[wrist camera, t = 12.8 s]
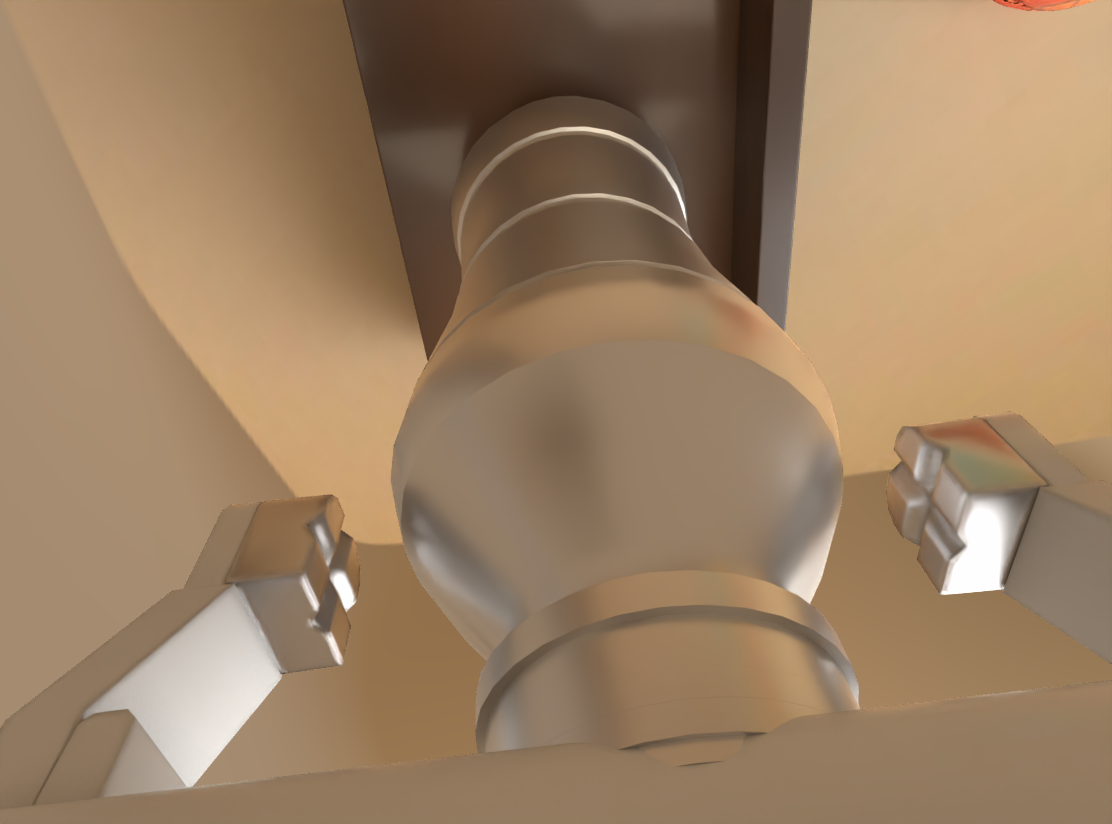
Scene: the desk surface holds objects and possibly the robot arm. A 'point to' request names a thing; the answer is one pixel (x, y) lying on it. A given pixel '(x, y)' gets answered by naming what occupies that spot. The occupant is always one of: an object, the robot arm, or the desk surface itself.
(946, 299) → the desk surface
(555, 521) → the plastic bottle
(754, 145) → the shelf
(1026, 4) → the pot
